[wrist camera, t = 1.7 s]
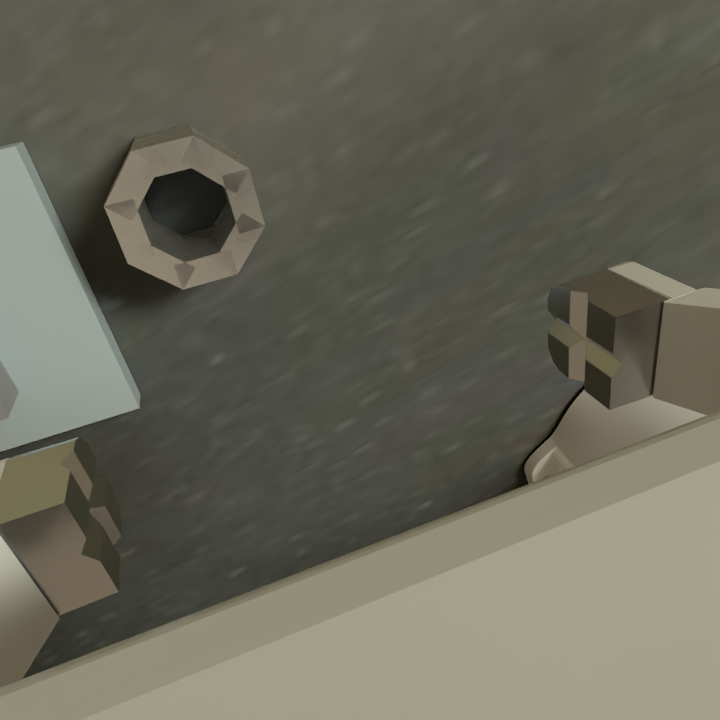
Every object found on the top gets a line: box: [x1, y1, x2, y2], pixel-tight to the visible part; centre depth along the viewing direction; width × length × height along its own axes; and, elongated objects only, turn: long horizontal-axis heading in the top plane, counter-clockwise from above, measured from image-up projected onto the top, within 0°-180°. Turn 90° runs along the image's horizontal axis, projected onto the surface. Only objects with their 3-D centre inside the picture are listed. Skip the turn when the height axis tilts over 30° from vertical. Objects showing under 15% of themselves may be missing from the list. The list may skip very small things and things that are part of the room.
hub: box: [104, 124, 265, 290], centre depth 27 cm, size 6×6×4 cm
